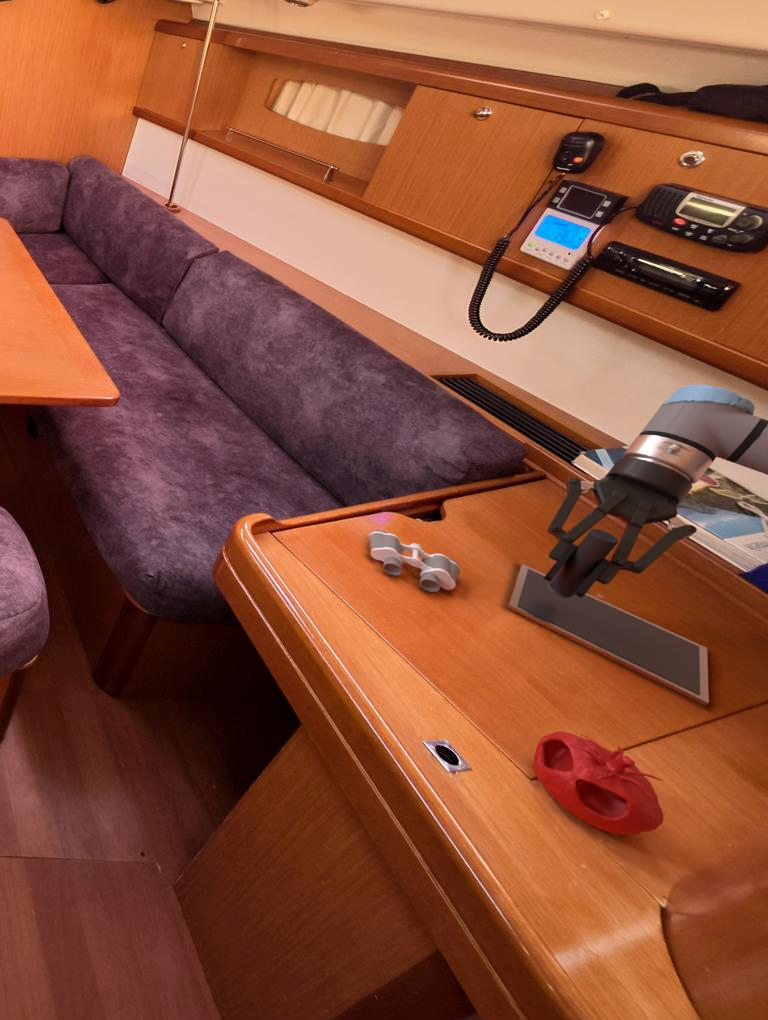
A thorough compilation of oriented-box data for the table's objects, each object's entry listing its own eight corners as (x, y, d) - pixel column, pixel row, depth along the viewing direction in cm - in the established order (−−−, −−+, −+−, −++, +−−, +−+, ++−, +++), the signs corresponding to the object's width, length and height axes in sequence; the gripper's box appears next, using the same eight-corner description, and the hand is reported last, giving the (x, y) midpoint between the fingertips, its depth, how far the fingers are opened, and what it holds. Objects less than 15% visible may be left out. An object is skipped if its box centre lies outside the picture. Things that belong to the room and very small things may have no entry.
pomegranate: (575, 755, 81) (619, 713, 77) (668, 848, 72) (723, 806, 68) (498, 752, 81) (538, 710, 77) (581, 844, 72) (631, 802, 68)
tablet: (704, 650, 95) (707, 647, 95) (705, 706, 87) (709, 702, 87) (520, 566, 109) (522, 563, 109) (507, 607, 101) (509, 604, 101)
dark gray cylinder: (572, 592, 101) (618, 536, 95) (570, 601, 99) (618, 545, 93) (547, 581, 103) (591, 526, 97) (545, 590, 101) (590, 534, 95)
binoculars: (454, 575, 107) (465, 560, 105) (455, 603, 102) (465, 588, 100) (366, 538, 114) (374, 524, 113) (362, 563, 109) (371, 548, 107)
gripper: (587, 435, 101) (498, 546, 101) (748, 494, 89) (647, 621, 89) (578, 451, 106) (493, 557, 106) (730, 509, 94) (634, 629, 94)
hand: (563, 586), depth 98 cm, fingers closed on dark gray cylinder, 3 cm apart
